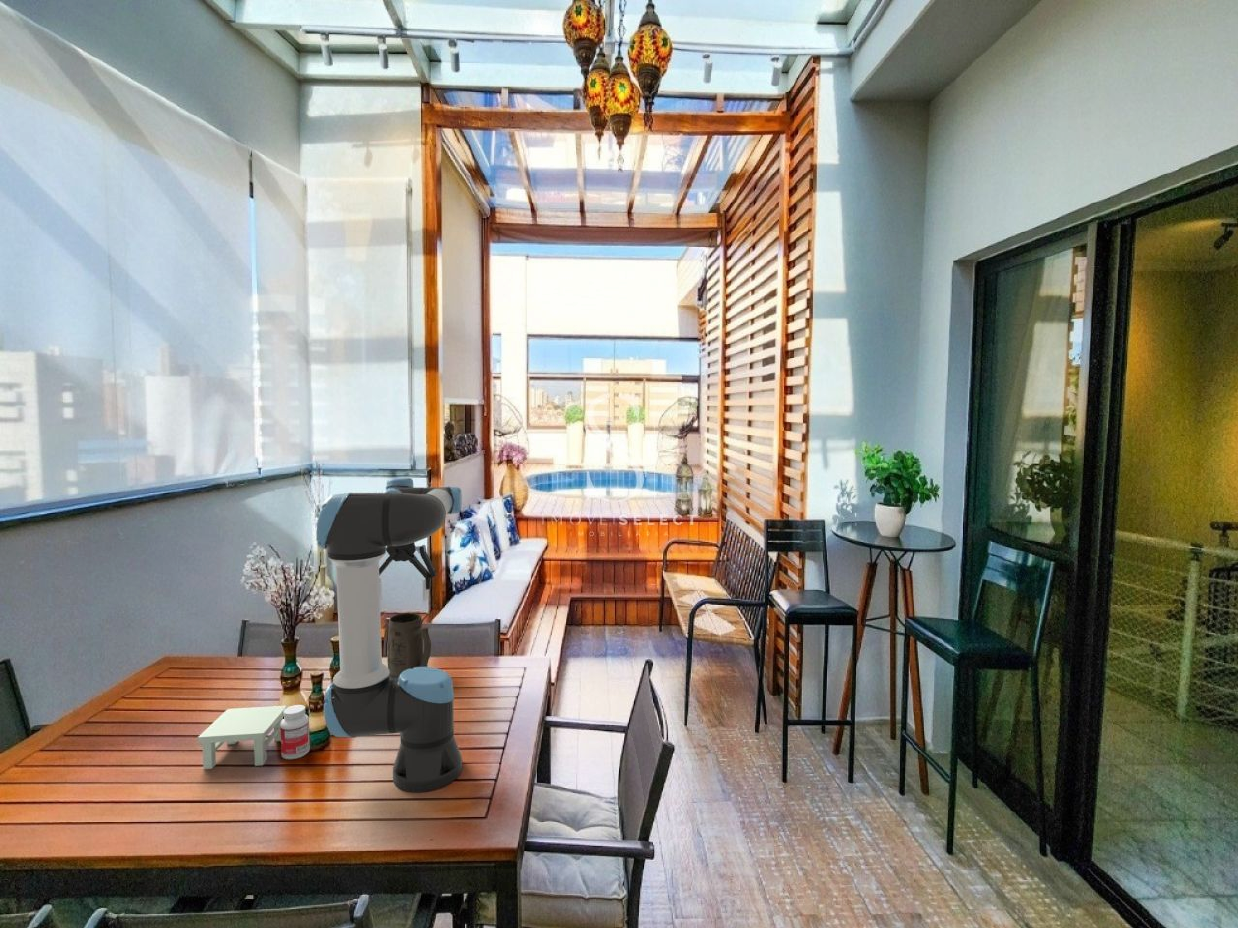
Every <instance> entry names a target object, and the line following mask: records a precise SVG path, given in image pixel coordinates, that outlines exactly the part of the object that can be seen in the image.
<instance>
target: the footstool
mask: <svg viewBox="0 0 1238 928" xmlns="http://www.w3.org/2000/svg"><path fill="white" fill-rule="evenodd" d="M286 707H288V705H275V706H274V705H272V706H270V705H269V706H258V707H257V706H256V707H255V706H254V707H240V708H239V707H238V708H237V707H235V708H227V709H226V710H225V711H224V712H222V713H221V715H220V716H219V717H217V719H215V720H214V721H213V722H212V723H211V724H210V725H209V726H207V728H206V729H204V730H203V732H202V733H200V735H198V736H197V744H199V745H200V744H202V760H203V761H202V763H203V765H202V766H203V770H212V769H214V767H215V766H217V759H216V758H217V757H216V752H217V751H218V749H220V748H221V746H222V745H223V744H225V743H226V745H236V743H237V742H244V741H253V752H254V754H253V755H254V766H255V767H257V766H263V765H265V763H266V762H267V747H268V746H269V745H270V744H271V743H272V741H274V742H281V731H280V724H281V721H282V720H283V711H284V710H285V709H286ZM270 733H271V734H270ZM269 734H270V735H269ZM268 735H269V736H268ZM267 736H268V737H267ZM266 737H267V738H266Z"/></svg>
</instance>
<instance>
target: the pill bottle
mask: <svg viewBox="0 0 1238 928" xmlns="http://www.w3.org/2000/svg"><path fill="white" fill-rule="evenodd" d="M283 716H284V719H283V720H282V721H281V724H280V731H281V741H280V750H281V751H280V754H281V757H282V758H283V759H285V760H296V759H300V758H302V757H304V756H305V755H308V753H309V752H310V749H311V741H310V738H311V736H310V735H311V734H310V717H309V716H308V715H307V714H306V706H305V705H304V704H294V705H291V706H287V708H286V709H285V710H284V711H283ZM309 734H310V735H309Z"/></svg>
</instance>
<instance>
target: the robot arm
mask: <svg viewBox="0 0 1238 928" xmlns="http://www.w3.org/2000/svg"><path fill="white" fill-rule="evenodd" d="M462 496H463V494H462V490H461V488H460V487H457V486H440V487H439V486H438V487H437V486H436V487H435V486H434V487H433V486H432V487H415V486H414V480H413V478H411V477H406V476H405V477H404V476H403V477H390V478H388V479H387V480H386V486H385V490H382V492H348V493H347V492H346V493H345V492H344V493H335V494H331V495H329V496H328V497H327V498H326V499H325V500H324V502H323V503H322V506H321V509H320V511H319V513H318V520H317V524H316V542H317V546H318V547H319V548H320V549H322V550H327V558H328V560H329V561H331V562H332V563H333V564H334V565H335V571H336V593H337V594H336V595H337V596H336V597H337V599H336V601H337V615H338V616H337V617H338V618H337V620H338V622H337V623H338V645H339V646H338V648H339V667H340V668H339V670H338V672H336V674H334V676H333V678H332V682H330V683H329V684H328V685H327V687H326V689H325V692H324V699H323V700H324V704H323V715H324V720H325V725H326V728H327V730H328V732H329V733H330V734H331V735H333V736H334V737H336V738H351V739H352V738H357V737H366V736H368V737H369V736H379V735H390V734H391V735H392V734H399V736H400V745H399V748H398V751H397V755H396V757H395V760H394V764H393V767H392V782H393V783H394V785H395V786H396V787H397V788H399V789H401V790H403V791H406V792H413V793H421V792H422V793H423V792H429V791H434V790H437V789H441V788H444V787H446V786H447V785H450V784H451V783H453V782H454V781H455V780H457V778H459V776H460V775H461V773H462V771H463V756H462V755H461V754H462V753H461V751H460V748H459V746H458V743H457V741H456V738H455V721H454V720H455V719H454V698H455V692H454V685H453V682H454V681H453V679H452V676H451V675H450V673H448V672H446V671H444V670H443V669H440V668H437V667H433V666H427V667H414V668H413V669H407V670H405V671H403V672H402V673H401V674H400V676H399V678H391V679H390V672H389V668H388V666H386V665H385V664H383V655H382V653H383V652H382V621H381V618H382V617H381V601H382V600H383V596H382V595H383V591H382V590H383V589H382V583H383V582H382V577H380V576H381V574H382V573H384V571H385V570H386V568H388V566H389V565H390V564H391V563H392V561H395V562H407V561H408V562H410V563H411V564H412V565H413V566H414V567H415V569H416V570H418V572H419V573H420V575H421V576H422V577H423V579H422V602H426V601H427V600H428V599H429V595H428V592H429V590H430V589H431V587H432V578H435V577H436V576H437V575H438V571H437V570H436V569H437V568H435V566H434V564H433V562H432V559H431V558H430V556H429V554H428V552H427V547H426V545H425V544H422V545H419V546H416V545H415V543H417V542H420V541H422V540H424V539H427V538H429V537H430V536H433V535H434V534H435V533H438V531H439V530H440V529H441V528H442V527H443V525H444V523H445V521H446V517H447V515H452V514H460V513H461V511H462V508H463V507H462V504H463V503H462V502H463V497H462ZM416 551H417V553H418V554H419V555H420V557H421V559H422V561H423V562H424V564H425V566H424V565H423V563H421V561H420V560H419V559H418V557H417V556H416V554H415V552H416ZM386 553H387V554H388V557H387V558H386V559H385V561H384V562H383V563H382V565H381V566H380V560H382V558H383V557H384V556H385V555H386Z"/></svg>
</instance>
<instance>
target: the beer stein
mask: <svg viewBox="0 0 1238 928" xmlns="http://www.w3.org/2000/svg"><path fill="white" fill-rule="evenodd" d="M387 625H388V626H387V627H388V640H387V667H388V668H389V672H390V679H391V678H399V676H400V674H401V673H402V672H403V671H405V670H407V669H413V668H414V667H428V665H429V664H428V663H429V661H430V656H431V653H432V641H431V637H430V633H429V627H428V626H423V619H422V616H421V615H419V614H418V613H413V612H412V613H411V612H408V613H399V614H395V615H393V616H391V617H390V618H389V620H388V623H387Z"/></svg>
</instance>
